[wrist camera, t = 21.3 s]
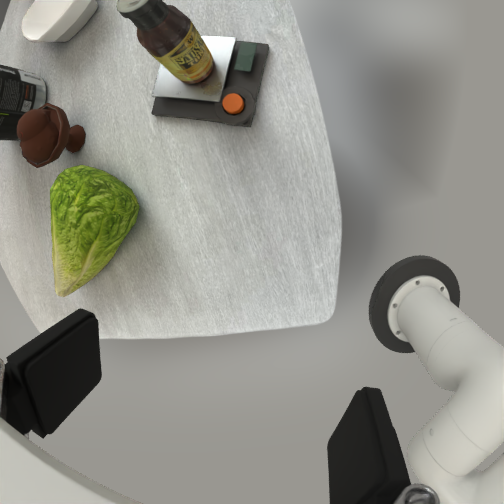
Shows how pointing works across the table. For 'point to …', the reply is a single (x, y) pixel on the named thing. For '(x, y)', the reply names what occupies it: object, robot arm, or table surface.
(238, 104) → the power button
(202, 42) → the sauce bottle
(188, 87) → the scale top
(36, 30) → the bowl
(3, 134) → the supplement tub
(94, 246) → the lettuce
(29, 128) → the ice cream bowl
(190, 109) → the scale
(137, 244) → the table surface
